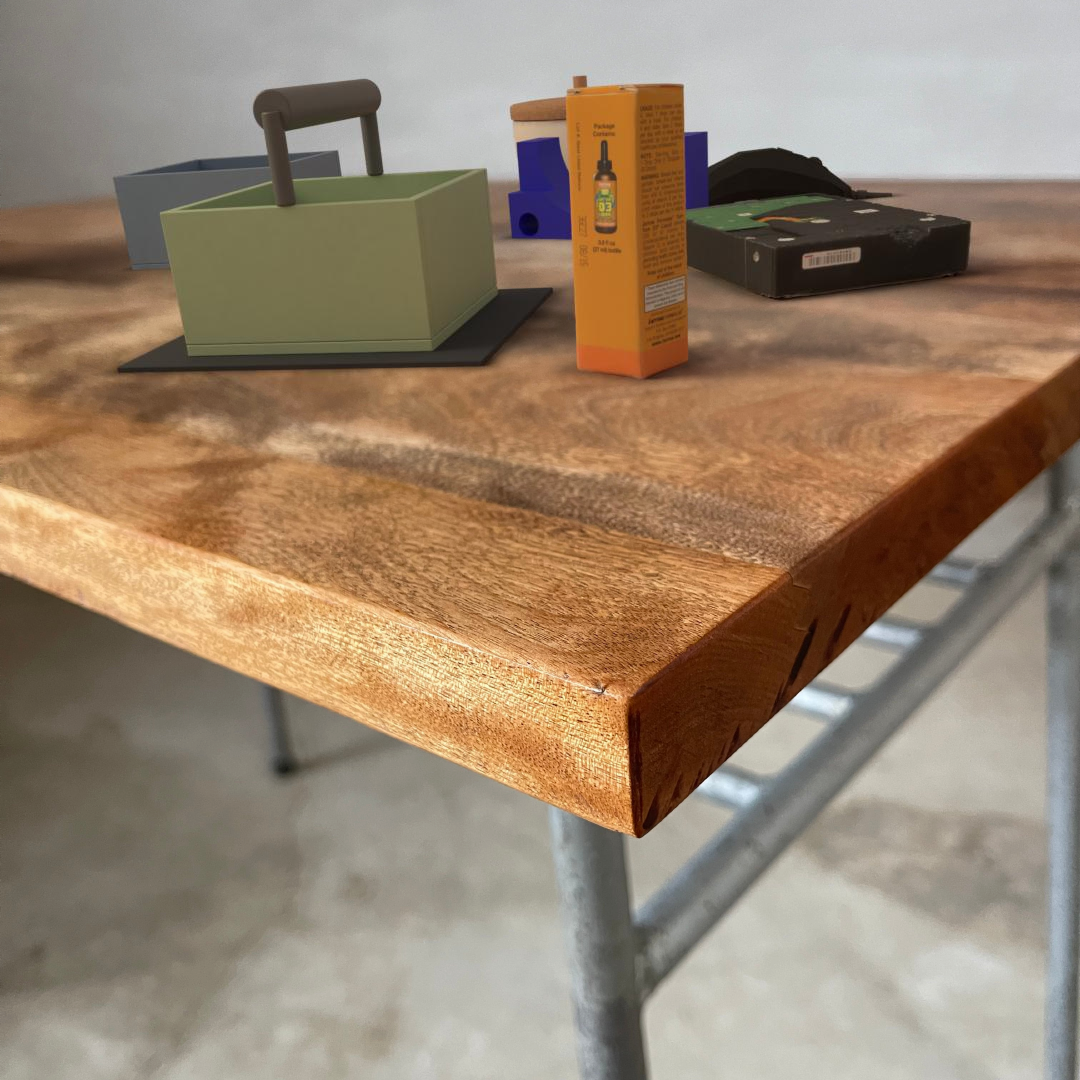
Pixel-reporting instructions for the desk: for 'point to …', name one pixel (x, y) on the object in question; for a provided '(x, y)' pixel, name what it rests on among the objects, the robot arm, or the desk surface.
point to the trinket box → (544, 119)
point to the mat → (459, 350)
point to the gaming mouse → (774, 177)
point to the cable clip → (548, 186)
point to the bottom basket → (196, 193)
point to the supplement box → (628, 227)
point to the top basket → (331, 247)
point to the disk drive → (822, 244)
